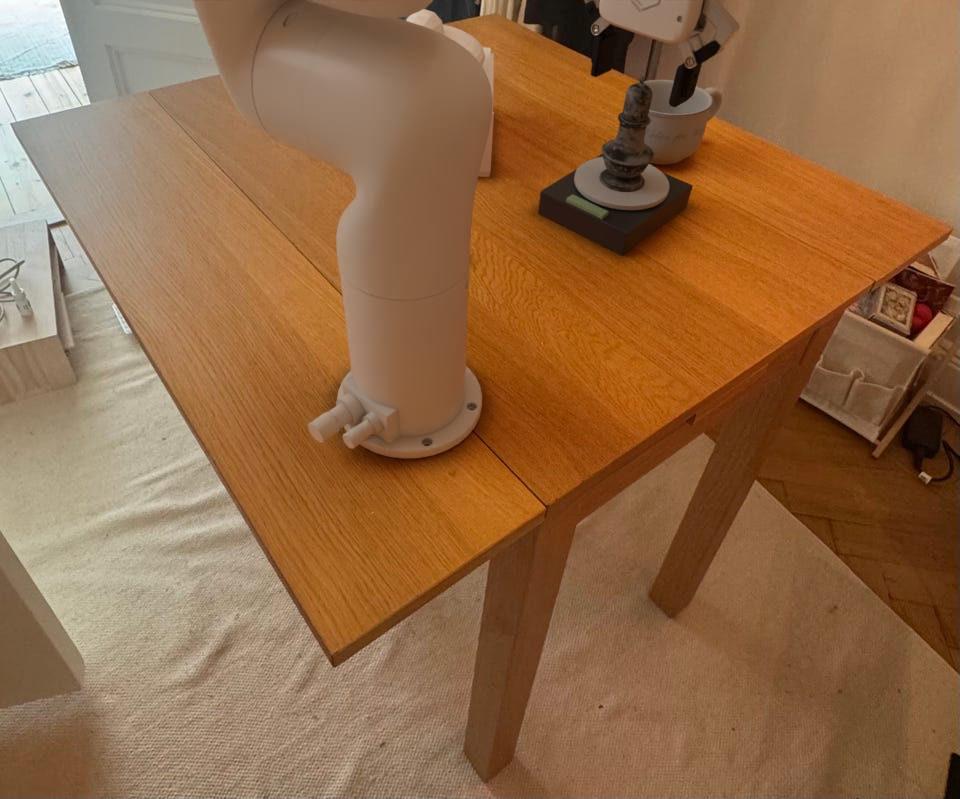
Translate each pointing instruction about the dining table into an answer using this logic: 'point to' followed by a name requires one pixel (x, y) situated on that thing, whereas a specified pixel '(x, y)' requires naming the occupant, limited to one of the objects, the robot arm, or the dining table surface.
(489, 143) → the butter dish
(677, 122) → the teacup
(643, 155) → the dark grey finial
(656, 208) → the scale
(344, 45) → the robot arm
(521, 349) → the dining table surface
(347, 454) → the dining table surface
